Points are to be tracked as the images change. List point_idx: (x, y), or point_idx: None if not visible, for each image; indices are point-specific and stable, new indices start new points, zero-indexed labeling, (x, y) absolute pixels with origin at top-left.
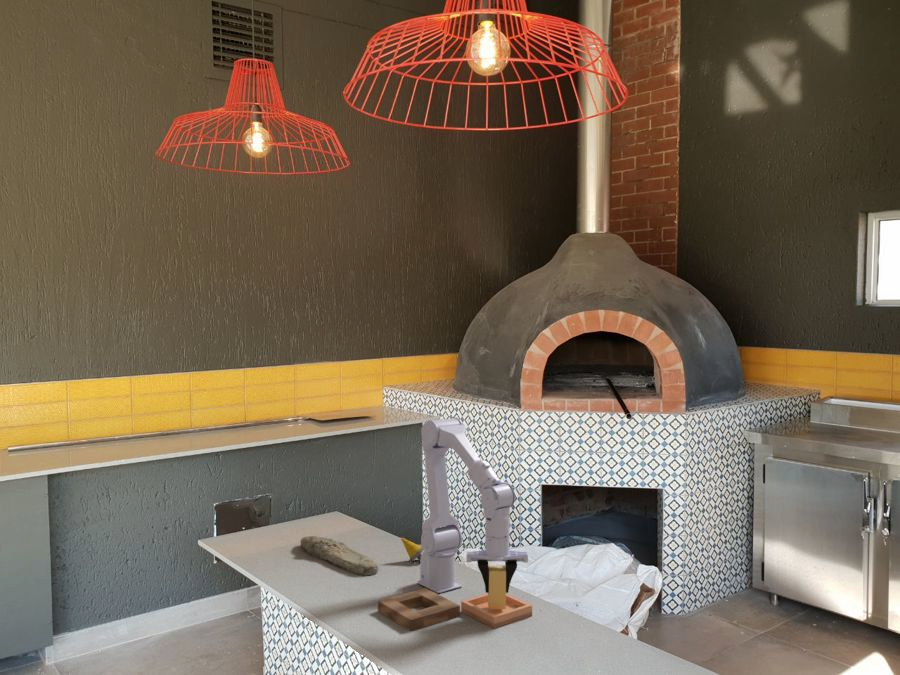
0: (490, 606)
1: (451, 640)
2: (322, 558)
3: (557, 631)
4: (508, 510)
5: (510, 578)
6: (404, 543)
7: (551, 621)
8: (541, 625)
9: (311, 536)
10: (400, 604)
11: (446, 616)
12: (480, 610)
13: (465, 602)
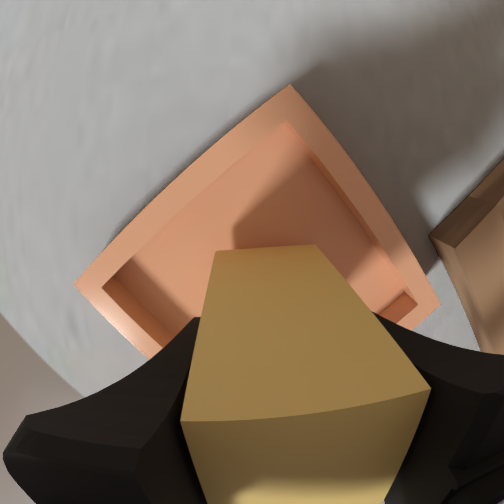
0: (308, 248)
1: (441, 10)
2: None
3: (8, 117)
4: None
5: (144, 369)
6: None
7: (23, 214)
8: (55, 163)
9: None
10: None
11: (482, 193)
12: (367, 187)
13: (427, 290)
